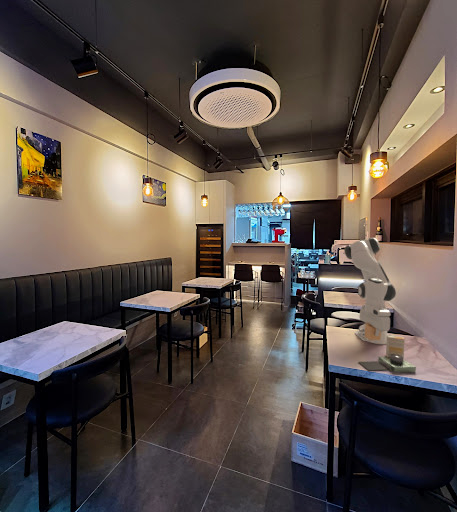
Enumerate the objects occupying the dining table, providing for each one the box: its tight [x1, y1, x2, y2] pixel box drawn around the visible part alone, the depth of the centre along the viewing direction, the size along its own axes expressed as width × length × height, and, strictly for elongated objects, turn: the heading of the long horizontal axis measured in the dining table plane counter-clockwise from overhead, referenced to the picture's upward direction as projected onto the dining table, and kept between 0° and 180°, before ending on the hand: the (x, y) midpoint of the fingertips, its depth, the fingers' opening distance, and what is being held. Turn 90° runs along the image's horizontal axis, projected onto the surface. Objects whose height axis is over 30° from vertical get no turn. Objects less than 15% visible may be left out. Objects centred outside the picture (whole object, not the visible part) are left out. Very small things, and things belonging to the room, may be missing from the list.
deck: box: [377, 354, 417, 374], centre depth 136 cm, size 12×12×6 cm
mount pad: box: [357, 360, 389, 372], centre depth 136 cm, size 9×11×1 cm
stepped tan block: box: [364, 322, 381, 340], centre depth 135 cm, size 4×6×8 cm
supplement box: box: [385, 334, 406, 360], centre depth 146 cm, size 8×5×13 cm, turn 66°
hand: (372, 333), depth 135 cm, fingers closed on stepped tan block, 4 cm apart
